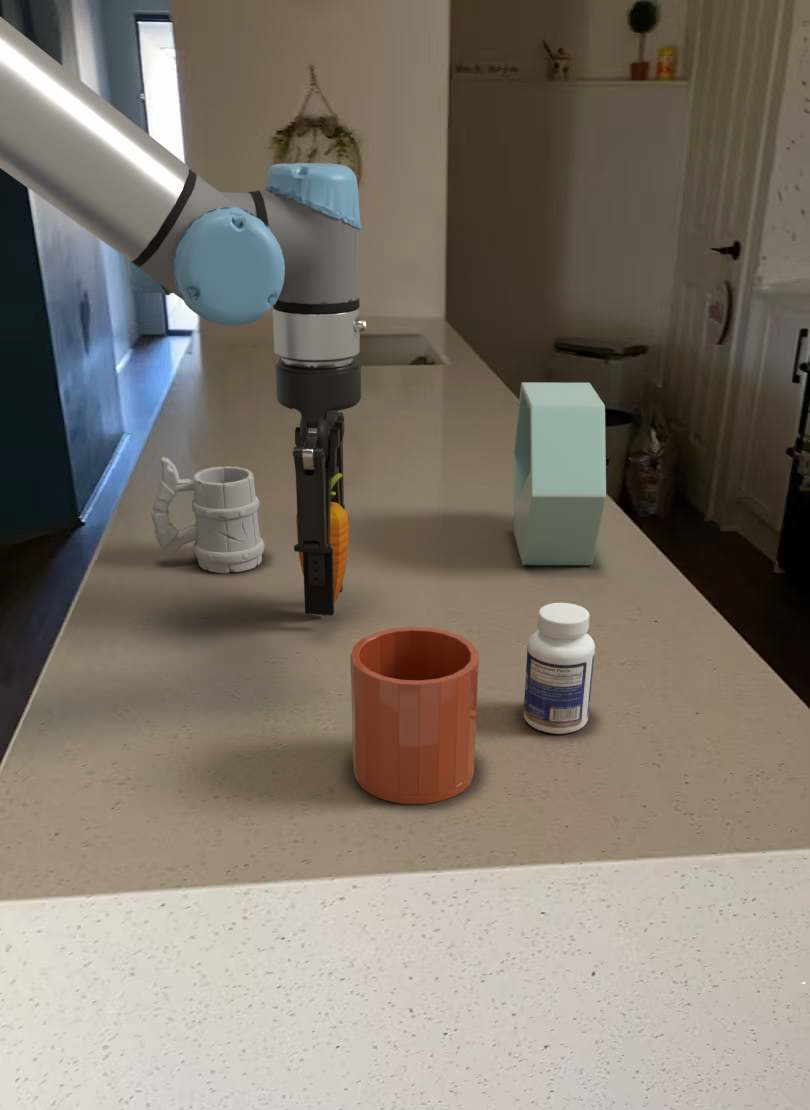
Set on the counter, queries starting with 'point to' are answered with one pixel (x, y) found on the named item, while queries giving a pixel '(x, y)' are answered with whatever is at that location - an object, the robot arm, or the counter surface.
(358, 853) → the counter surface
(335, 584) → the carrot
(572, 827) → the counter surface
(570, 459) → the planter
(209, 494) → the mug
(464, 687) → the cup
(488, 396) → the counter surface
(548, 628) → the pill bottle
